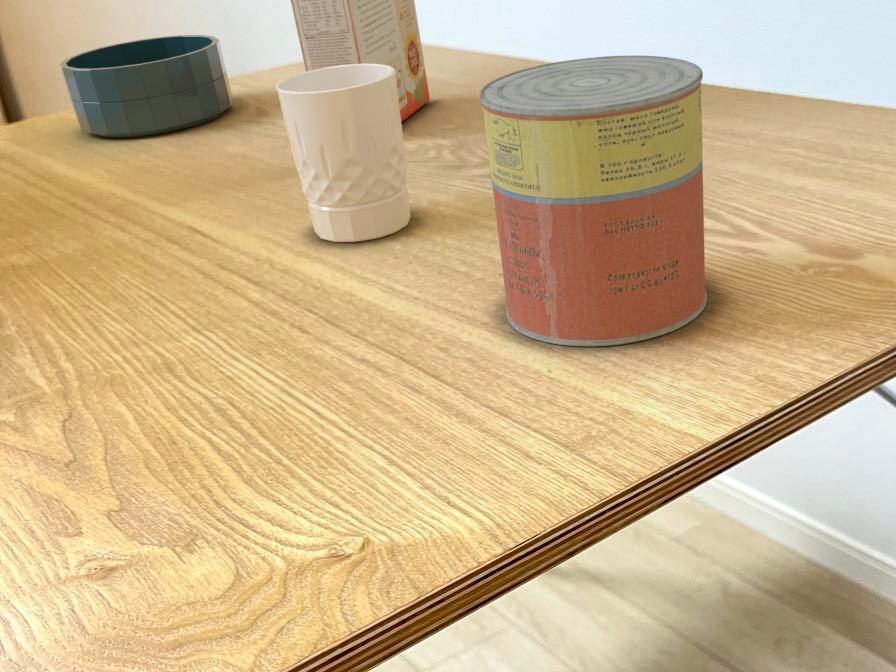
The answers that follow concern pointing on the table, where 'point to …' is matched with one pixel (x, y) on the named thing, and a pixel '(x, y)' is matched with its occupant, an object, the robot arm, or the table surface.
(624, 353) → the table surface
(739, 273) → the table surface
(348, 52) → the cracker box
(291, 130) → the white cup
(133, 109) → the bowl
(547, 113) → the canned food
